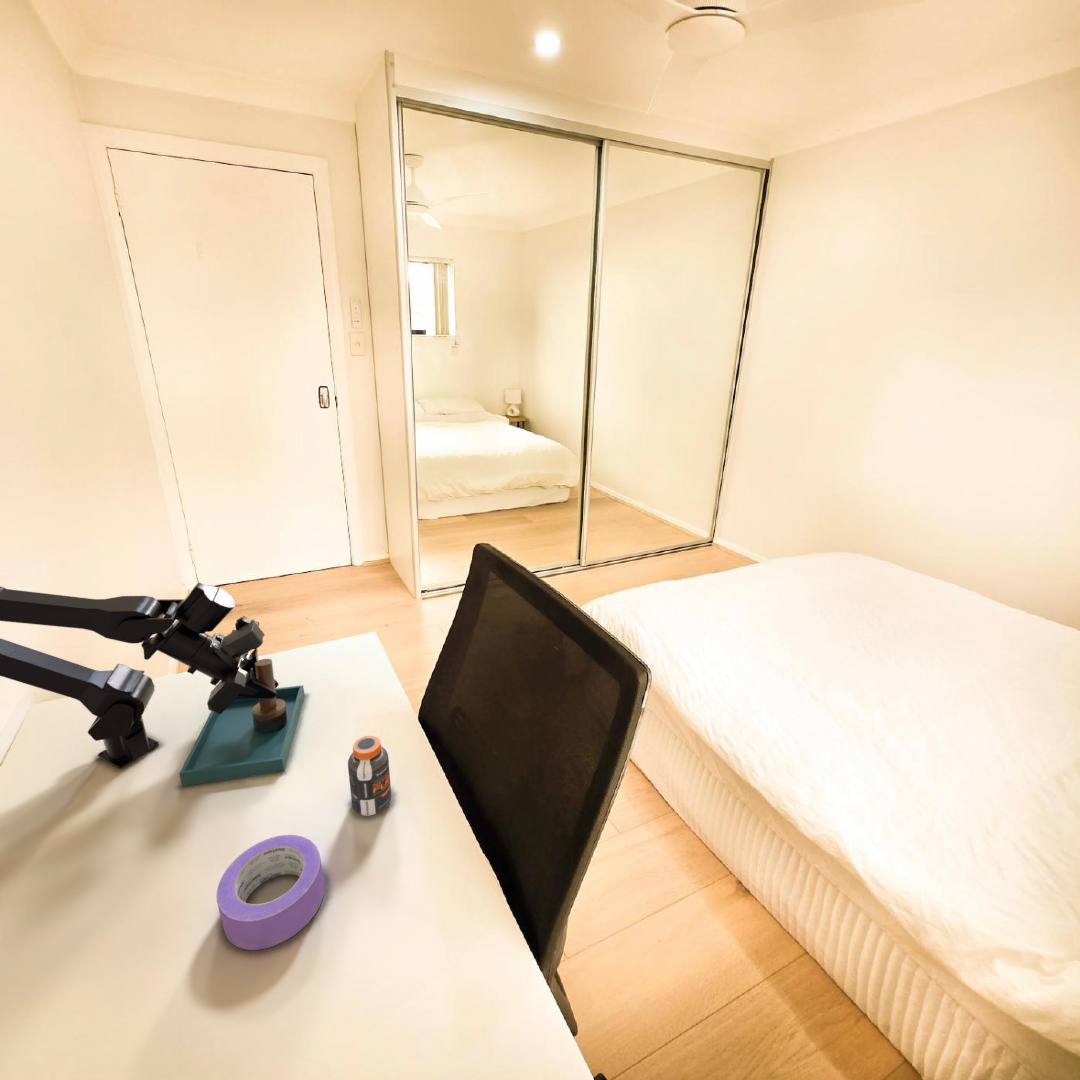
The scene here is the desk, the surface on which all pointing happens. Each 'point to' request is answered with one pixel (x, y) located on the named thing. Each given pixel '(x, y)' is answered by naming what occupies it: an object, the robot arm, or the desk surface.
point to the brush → (268, 702)
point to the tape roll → (280, 915)
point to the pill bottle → (369, 776)
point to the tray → (242, 742)
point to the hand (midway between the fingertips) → (276, 691)
